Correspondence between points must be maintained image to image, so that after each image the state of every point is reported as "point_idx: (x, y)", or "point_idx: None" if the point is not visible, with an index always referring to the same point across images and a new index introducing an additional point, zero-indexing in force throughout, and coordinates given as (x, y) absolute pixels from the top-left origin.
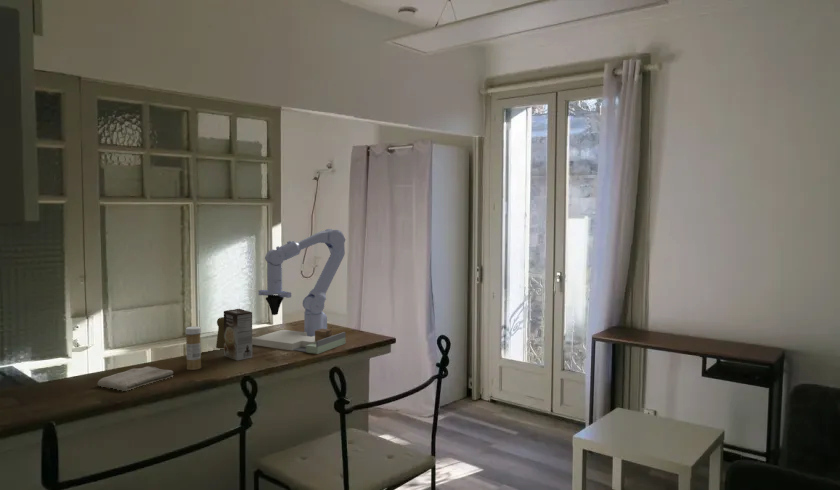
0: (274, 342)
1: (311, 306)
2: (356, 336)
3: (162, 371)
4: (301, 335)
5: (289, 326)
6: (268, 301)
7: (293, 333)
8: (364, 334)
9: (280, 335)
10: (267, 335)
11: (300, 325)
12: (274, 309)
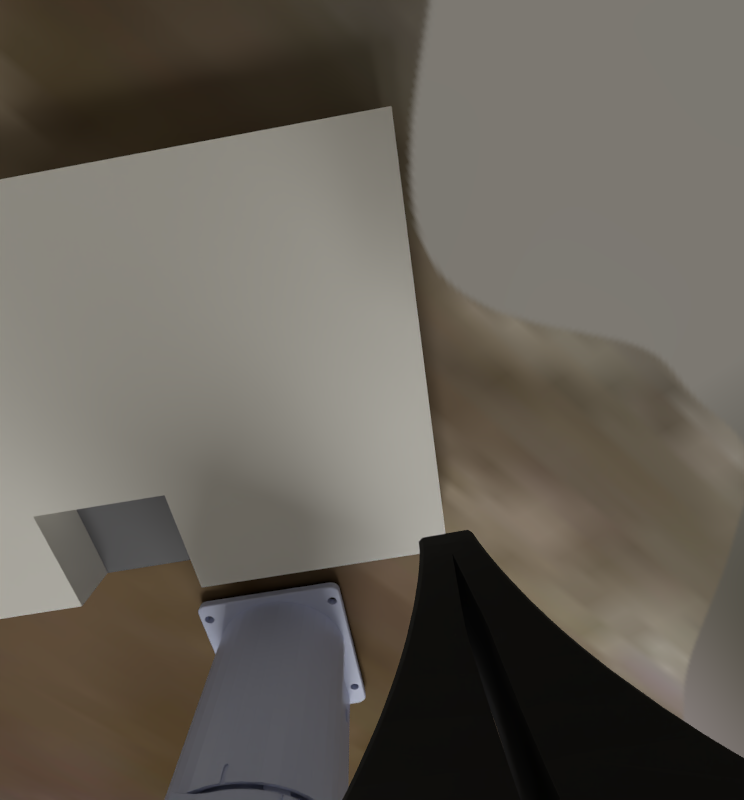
0: (81, 166)
1: None
2: (54, 739)
3: None
4: (132, 497)
5: None
6: (624, 727)
7: (252, 508)
8: (71, 784)
9: (269, 391)
10: (368, 315)
11: None
12: (415, 600)
